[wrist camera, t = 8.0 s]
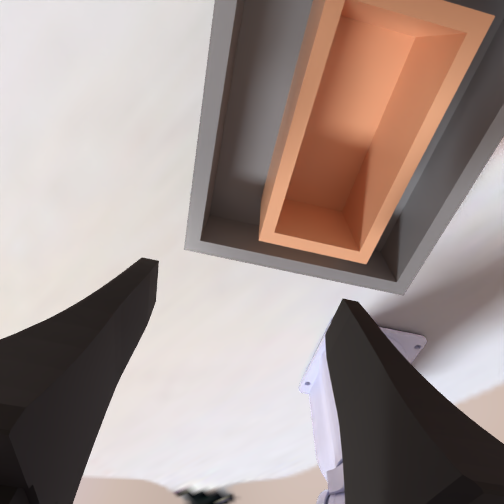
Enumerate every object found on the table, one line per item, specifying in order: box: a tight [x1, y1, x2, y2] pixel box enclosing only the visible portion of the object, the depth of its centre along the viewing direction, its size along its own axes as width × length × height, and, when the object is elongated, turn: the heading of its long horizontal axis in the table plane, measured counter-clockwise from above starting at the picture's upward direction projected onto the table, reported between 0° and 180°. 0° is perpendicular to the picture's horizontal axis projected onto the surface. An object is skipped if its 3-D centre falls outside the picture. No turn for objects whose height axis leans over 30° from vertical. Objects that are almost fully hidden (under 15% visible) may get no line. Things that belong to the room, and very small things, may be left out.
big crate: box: [184, 0, 504, 295], centre depth 16 cm, size 15×13×4 cm
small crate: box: [259, 0, 495, 264], centre depth 15 cm, size 10×5×5 cm, turn 167°
